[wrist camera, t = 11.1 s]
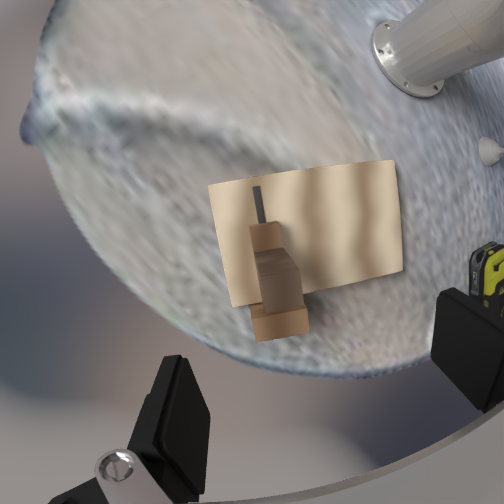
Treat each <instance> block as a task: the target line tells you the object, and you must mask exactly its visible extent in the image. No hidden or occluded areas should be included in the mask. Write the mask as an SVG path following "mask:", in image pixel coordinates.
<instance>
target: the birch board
mask: <svg viewBox="0 0 504 504" xmlns="http://www.w3.org/2000/svg"><path fill="white" fill-rule="evenodd" d="M208 191H209V196H210V202H211V207H212V212H213V217H214V222H215V227H216V232H217V237H218V242H219V247H220V252H221V257H222V261H223V266H224V271H225V276H226V280H227V285H228V289H229V294H230V299H231V303H232V307H237V306H243V305H248V304H254V303H259V302H262V297H261V291H260V286H259V280H258V275H257V269H256V264H255V258H254V253H253V247H252V242H251V236H250V231H249V226H250V225H255V224H261V223H266V222H272V221H277V222H278V223H279V226H280V232H281V238H282V244H283V248H284V249H285V251H286V252H287V253H288V255H289V256H290V257H291V259H292V260H293V261H294V263H295V264H296V265H297V267H298V268H299V269H300V275H301V283H302V291H303V294H305V293H310V292H314V291H319V290H324V289H328V288H333V287H337V286H341V285H346V284H350V283H354V282H359V281H363V280H367V279H371V278H375V277H379V276H383V275H387V274H391V273H395V272H399V271H403V256H402V232H401V217H400V206H399V196H398V187H397V178H396V171H395V164H394V160H385V161H373V162H362V163H352V164H342V165H333V166H325V167H317V168H309V169H302V170H295V171H288V172H281V173H275V174H269V175H262V176H256V177H251V178H245V179H239V180H234V181H228V182H223V183H218V184H213V185H208Z"/></svg>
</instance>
